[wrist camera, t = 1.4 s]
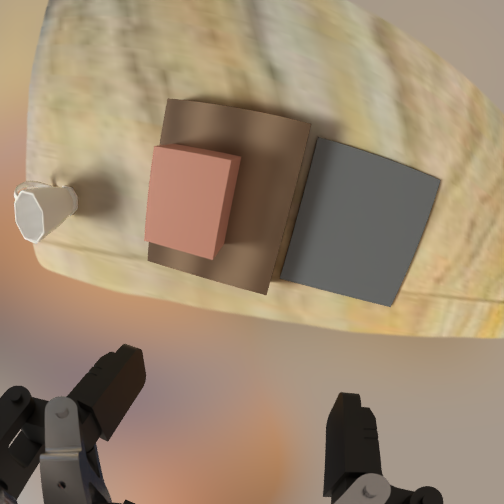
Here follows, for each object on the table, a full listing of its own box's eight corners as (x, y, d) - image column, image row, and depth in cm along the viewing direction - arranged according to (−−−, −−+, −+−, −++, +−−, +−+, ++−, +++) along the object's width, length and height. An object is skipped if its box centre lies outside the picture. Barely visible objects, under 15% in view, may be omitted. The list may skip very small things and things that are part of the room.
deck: (159, 250, 35) (147, 260, 33) (179, 100, 28) (167, 98, 25) (269, 282, 34) (266, 295, 32) (310, 125, 27) (311, 123, 24)
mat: (280, 276, 34) (279, 278, 33) (318, 137, 27) (318, 137, 27) (389, 305, 33) (390, 306, 32) (438, 179, 26) (440, 180, 26)
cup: (77, 233, 37) (39, 255, 29) (38, 197, 36) (0, 212, 29) (91, 192, 34) (49, 209, 27) (48, 157, 33) (7, 168, 26)
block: (162, 227, 31) (144, 240, 27) (173, 143, 27) (154, 146, 23) (224, 244, 30) (212, 259, 26) (241, 156, 26) (231, 160, 23)
